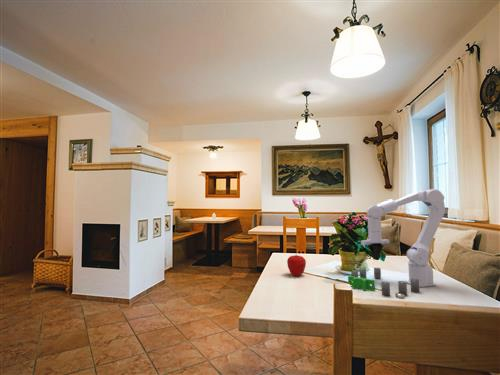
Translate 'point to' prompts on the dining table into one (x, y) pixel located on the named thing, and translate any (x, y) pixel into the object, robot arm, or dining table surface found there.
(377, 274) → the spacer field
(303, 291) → the dining table surface
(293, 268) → the red rounded piece
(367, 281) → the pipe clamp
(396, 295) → the steel nut
